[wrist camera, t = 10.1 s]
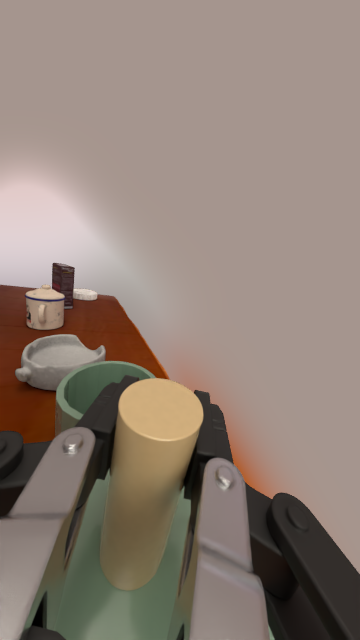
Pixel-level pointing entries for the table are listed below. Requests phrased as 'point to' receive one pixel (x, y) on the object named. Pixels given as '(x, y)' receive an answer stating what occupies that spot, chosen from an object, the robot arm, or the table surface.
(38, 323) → the teacup with lid
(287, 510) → the robot arm
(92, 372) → the canister
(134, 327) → the table surface
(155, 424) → the lid
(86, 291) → the mooncake
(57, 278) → the supplement box
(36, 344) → the dish
